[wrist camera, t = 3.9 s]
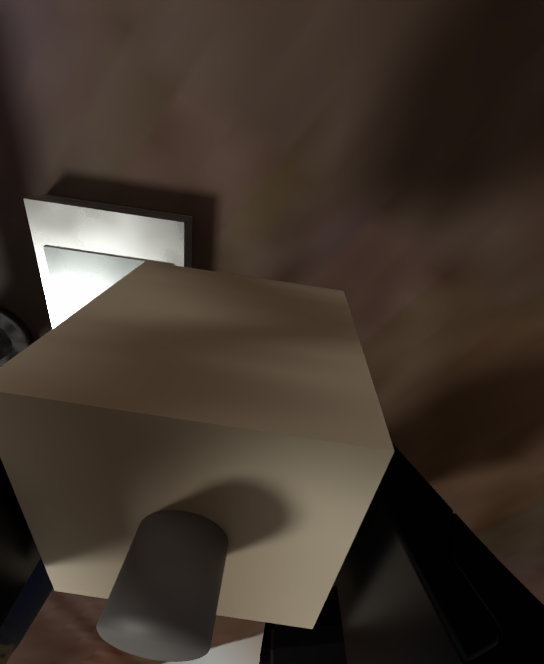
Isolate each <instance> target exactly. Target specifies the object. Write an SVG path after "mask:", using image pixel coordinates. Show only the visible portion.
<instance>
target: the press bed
mask: <svg viewBox="0 0 544 664" xmlns="http://www.w3.org/2000/svg"><path fill="white" fill-rule="evenodd" d="M23 199H24V204H25V208H26V213H27V217H28V221H29V226H30V230H31V235H32V239H33V244H34V248H35V253H36V257H37V262H38V266H39V270H40V275H41V279H42V284H43V288H44V293H45V297H46V302H47V306H48V310H49V315H50V319H51V324H52V328H55V327H56V326H57V325H59V324H60V323H61V322H63V321H64V320H66V319H67V318H68V317H70V316H71V315H72V314H74V313H75V312H77V311H78V310H79V309H81V308H82V307H83V306H85V305H86V304H88V303H89V302H90V301H92V300H93V299H94V298H96V297H97V296H98V295H100V294H101V293H103V292H104V291H105V290H107V289H108V288H109V287H111V286H112V285H114V284H115V283H116V282H118V281H119V280H120V279H122V278H123V277H125V276H126V275H127V274H129V273H130V272H131V271H133V270H134V269H136V268H137V267H138V266H140V265H141V264H142V263H144V262H145V261H149V262H156V263H162V264H169V265H176V266H182V267H189V268H192V234H193V216H188V215H181V214H175V213H168V212H161V211H155V210H148V209H142V208H135V207H128V206H122V205H115V204H108V203H102V202H95V201H88V200H82V199H75V198H68V197H62V196H55V195H48V194H43V195H38V196H33V197H28V198H23Z"/></svg>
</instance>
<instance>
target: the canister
mask: <svg viewBox="0 0 544 664" xmlns="http://www.w3.org/2000/svg"><path fill="white" fill-rule="evenodd" d="M52 589H53V586H52V583H51V581H50V578H49V576H48V573H47V571H46V568H45V566H44V564H43V561H42V559H41V558H40V560H39V561H38V563H37V565H36V567H35V568H34V570H33V572H32V574H31V575H30V577H29V579H28V581H27V582H26V584H25V586H24V588H23V590H22V591H21V593H20V595H19V597H18V598H17V600H16V602H15V604H14V605H13V607H12V609H11V611H10V612H9V614H8V616H7V618H6V620H5V621H4V623H3V625H2V627H1V628H0V664H6V663H7V661H8V659H9V658H10V656H11V655H12V653H13V652H14V650H15V649H16V648H17V646H18V645H19V643H20V642H21V640H22V638H23V637H24V635H25V634H26V632H27V630H28V629H29V627H30V625H31V624H32V622H33V621H34V619H35V617H36V616H37V614H38V612H39V611H40V609H41V607H42V606H43V604H44V603H45V601H46V599H47V597H48V596H49V594H50V592H51V591H52Z"/></svg>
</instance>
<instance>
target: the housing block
mask: <svg viewBox="0 0 544 664" xmlns="http://www.w3.org/2000/svg"><path fill="white" fill-rule="evenodd" d="M393 454H394V448H393V445H392V442H391V439H390V436H389V432H388V429H387V426H386V423H385V420H384V417H383V414H382V410H381V407H380V404H379V401H378V398H377V395H376V391H375V388H374V385H373V382H372V379H371V376H370V373H369V369H368V366H367V363H366V360H365V357H364V354H363V351H362V347H361V344H360V341H359V338H358V335H357V332H356V328H355V325H354V322H353V319H352V316H351V313H350V310H349V306H348V303H347V300H346V297H345V294H344V291H340V290H333V289H327V288H320V287H314V286H307V285H301V284H294V283H287V282H281V281H274V280H268V279H261V278H254V277H248V276H241V275H235V274H228V273H222V272H215V271H208V270H202V269H195V268H189V267H182V266H176V265H169V264H162V263H156V262H149V261H145V262H144V263H142V264H141V265H140V266H138V267H137V268H136V269H134V270H133V271H131V272H130V273H129V274H127V275H126V276H125V277H123V278H122V279H120V280H119V281H118V282H116V283H115V284H114V285H112V286H111V287H109V288H108V289H107V290H105V291H104V292H103V293H101V294H100V295H98V296H97V297H96V298H94V299H93V300H92V301H90V302H89V303H88V304H86V305H85V306H83V307H82V308H81V309H79V310H78V311H77V312H75V313H74V314H72V315H71V316H70V317H68V318H67V319H66V320H64V321H63V322H61V323H60V324H59V325H57V326H56V327H55V328H53V329H52V330H50V331H49V332H48V333H46V334H45V335H44V336H42V337H41V338H39V339H38V340H37V341H35V342H34V343H33V344H31V345H30V346H28V347H27V348H26V349H24V350H23V351H22V352H20V353H19V354H17V355H16V356H15V357H13V358H12V359H11V360H9V361H8V362H7V363H5V364H4V365H2V366H1V367H0V458H1V460H2V463H3V465H4V468H5V470H6V473H7V475H8V477H9V480H10V482H11V485H12V487H13V490H14V492H15V495H16V497H17V500H18V502H19V505H20V507H21V509H22V512H23V514H24V517H25V519H26V522H27V524H28V527H29V529H30V532H31V534H32V536H33V539H34V541H35V544H36V546H37V549H38V551H39V554H40V556H41V559H42V561H43V564H44V566H45V568H46V571H47V573H48V576H49V578H50V581H51V583H52V586H53V588H54V591H59V592H66V593H73V594H80V595H86V596H93V597H100V598H106V599H108V600H107V602H106V605H105V607H104V610H103V612H102V614H101V617H100V619H99V621H98V624H97V631H98V634H99V635H100V636H101V637H102V638H103V639H104V640H105V641H106V642H107V643H109V644H110V645H112V646H114V647H116V648H117V649H120V650H122V651H124V652H127V653H129V654H132V655H135V656H139V657H143V658H147V659H153V660H159V661H172V662H173V661H174V662H178V661H189V660H194V659H198V658H200V657H202V656H204V655H206V654H207V653H208V651H209V650H210V646H211V640H212V634H213V629H214V623H215V617H216V615H220V616H227V617H234V618H241V619H247V620H254V621H261V622H267V623H274V624H281V625H288V626H294V627H301V628H308V629H313V627H314V625H315V623H316V620H317V618H318V616H319V614H320V612H321V610H322V607H323V605H324V603H325V601H326V599H327V597H328V594H329V592H330V590H331V588H332V586H333V584H334V581H335V579H336V577H337V575H338V573H339V571H340V568H341V566H342V564H343V562H344V560H345V558H346V555H347V553H348V551H349V549H350V547H351V545H352V542H353V540H354V538H355V536H356V534H357V532H358V529H359V527H360V525H361V523H362V521H363V519H364V516H365V514H366V512H367V510H368V508H369V506H370V503H371V501H372V499H373V497H374V495H375V493H376V490H377V488H378V486H379V484H380V482H381V480H382V477H383V475H384V473H385V471H386V469H387V467H388V464H389V462H390V460H391V458H392V456H393Z"/></svg>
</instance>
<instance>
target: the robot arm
mask: <svg viewBox="0 0 544 664" xmlns="http://www.w3.org/2000/svg"><path fill="white" fill-rule="evenodd" d="M392 445H393V448H394V454H393V456H392V458H391V460H390V462H389V464H388V467H387V469H386V471H385V473H384V475H383V477H382V480H381V482H380V484H379V486H378V488H377V490H376V493H375V495H374V497H373V499H372V501H371V503H370V506H369V508H368V510H367V512H366V514H365V516H364V519H363V521H362V523H361V525H360V527H359V529H358V532H357V534H356V536H355V538H354V540H353V542H352V545H351V547H350V549H349V551H348V553H347V555H346V558H345V560H344V562H343V564H342V566H341V568H340V571H339V573H338V575H337V577H336V579H335V581H334V584H333V586H332V588H331V590H330V592H329V594H328V597H327V599H326V601H325V603H324V605H323V607H322V610H321V612H320V614H319V616H318V618H317V620H316V623H315V625H314V627H313V629H308V628H301V627H294V626H288V625H281V624H274V623H267V622H265V628H264V635H263V641H262V647H261V653H260V663H259V664H544V605H543V604H542V603H541V602H540V601H539V600H538V599H537V598H536V597H535V596H534V595H533V594H532V593H531V592H530V591H529V590H528V589H527V588H526V587H525V586H524V585H523V584H522V583H521V582H520V581H519V580H518V579H517V578H516V577H515V576H514V575H513V574H512V573H511V572H510V571H509V570H508V569H507V568H506V567H505V566H504V565H503V564H502V563H501V562H500V561H499V560H498V559H497V558H496V557H495V556H494V554H493V553H492V552H491V551H490V550H489V549H488V548H487V547H486V546H485V545H484V544H483V543H482V542H481V540H480V539H479V538H478V537H477V536H476V535H475V534H474V533H473V532H472V531H471V530H470V529H469V527H468V526H467V525H466V524H465V523H464V522H463V521H462V520H461V519H460V517H459V516H458V515H457V514H455V513H453V510H452V509H451V508H450V506H449V505H448V504H447V503H446V502H445V501H444V500H443V499H442V498H441V496H440V495H439V494H438V493H437V492H436V491H435V490H434V489H433V488H432V486H431V485H430V484H429V483H428V482H427V481H426V480H425V479H424V477H423V476H422V475H421V474H420V473H419V472H418V471H417V470H416V469H415V467H414V466H413V465H412V464H411V463H410V462H409V461H408V460H407V459H406V457H405V456H404V455H403V454H402V453H401V452H400V451H399V450H398V448H397V447H396V446H395V445H394V444H393V443H392ZM40 558H41V556H40V554H39V551H38V549H37V546H36V544H35V541H34V539H33V536H32V534H31V532H30V529H29V527H28V524H27V522H26V519H25V517H24V514H23V512H22V509H21V507H20V505H19V502H18V500H17V497H16V495H15V492H14V490H13V487H12V485H11V482H10V480H9V477H8V475H7V473H6V470H5V468H4V465H3V463H2V460H1V458H0V628H1V627H2V625H3V623H4V621H5V620H6V618H7V616H8V614H9V612H10V611H11V609H12V607H13V605H14V604H15V602H16V600H17V598H18V597H19V595H20V593H21V591H22V590H23V588H24V586H25V584H26V582H27V581H28V579H29V577H30V575H31V574H32V572H33V570H34V568H35V567H36V565H37V563H38V561H39V560H40Z"/></svg>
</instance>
